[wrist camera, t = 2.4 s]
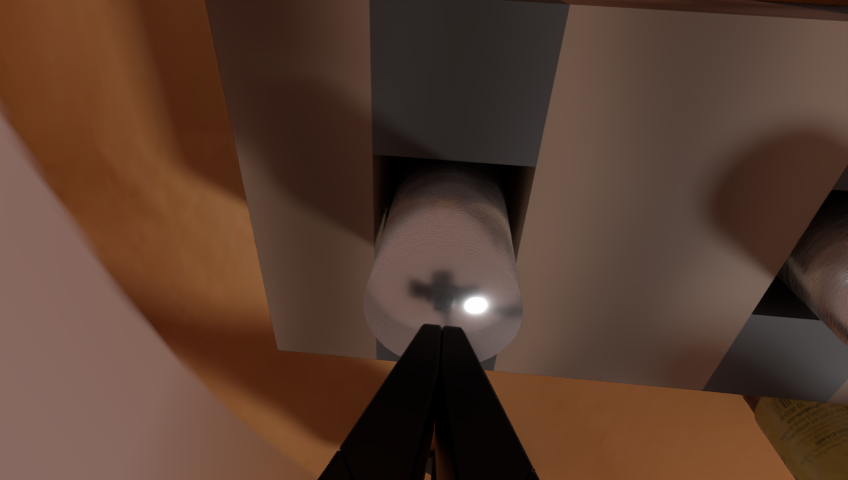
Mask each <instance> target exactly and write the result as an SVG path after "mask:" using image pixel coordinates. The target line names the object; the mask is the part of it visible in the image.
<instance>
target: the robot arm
mask: <svg viewBox="0 0 848 480" xmlns="http://www.w3.org/2000/svg"><path fill="white" fill-rule="evenodd" d="M434 421H435V451H433V452H430V448H431V443H432V437H433V431H434ZM426 472H427V473H428V474H430V475H431V480H539V478H538V476H537V474H536V472H535V469H534V468H533V466H532V464H531V462H530V460H529V458H528V456H527V454H526V452H525V450H524V448H523V446H522V444H521V442H520V440H519V438H518V436H517V435H516V433H515V431H514V429H513V427H512V425H511V423H510V421H509V419H508V417H507V415H506V413H505V411H504V409H503V407H502V405H501V403H500V401H499V399H498V397H497V395H496V393H495V391H494V389H493V387H492V385H491V383H490V381H489V379H488V377H487V375H486V373H485V371H484V369H483V367H482V365H481V363H480V361H479V359H478V357H477V355H476V353H475V351H474V349H473V347H472V346H471V344H470V342H469V340H468V338H467V336H466V334H465V332H464V330H463V328H461V327H458V326H447V325H446V326H444V327H443V328H442V326H441V325H436V324H423V325H422V326H421V327H420V329H419V330H418V332H417V333H416V335H415V336H414V338H413V339H412V341H411V342H410V344H409V345H408V347H407V348H406V350H405V351H404V353H403V354H402V355H401V357H400V358H399V360H398V361H397V363H396V364H395V366H394V367H393V369H392V370H391V372H390V373H389V375H388V376H387V378H386V379H385V381H384V382H383V384H382V385H381V387H380V388H379V390H378V391H377V393H376V394H375V396H374V397H373V399H372V400H371V402H370V403H369V405H368V406H367V408H366V409H365V411H364V412H363V414H362V415H361V417H360V418H359V420H358V421H357V422H356V424H355V425H354V427H353V428H352V430H351V431H350V433H349V434H348V436H347V437H346V439H345V440H344V442H343V443H342V445H341V446H340V451H337V452H336V453H335V455H334V456H333V458H332V459H331V461H330V462H329V464H328V465H327V467H326V468H325V470H324V471H323V472H322V474H321V475H320V477H319V478H318V479H317V480H424V478H425V473H426Z"/></svg>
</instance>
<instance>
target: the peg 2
mask: <svg viewBox="0 0 848 480" xmlns="http://www.w3.org/2000/svg"><path fill="white" fill-rule="evenodd" d="M777 276H778V277H779V278H780V279H781V280H782V281H783V282H784V283H785V284H786V285H787V286H788V287H789V288H790V289H791V290H792V291H793V292H794V293H795V294H796V296H797V297H798V298H799V299H800V300H801V301H802V302H803V303H804V304H805V305H806V306H807V307H808V308H809V309H810V310H811V311H812V312H813V313H814V314H815V315H816V316H817V317H818V318H819V319H820V320H821V321H822V322H823V323H824V324H825V325H826V326H827V327H828V328H829V329H830V330H831V331H832V332H833V333H834V334H835V335H836V336H837V337H838V338H839V339H840V340H841V341H842V342H843V343H844V344H845V345H846V346H847V347H848V191H843V190H831V191H830V193H829V194H828V196H827V197H826V199H825V200H824V202H823V204H822V205H821V207H820V208H819V210H818V211H817V213H816V214H815V216H814V217H813V219H812V221H811V222H810V224H809V225H808V227H807V228H806V230H805V231H804V233H803V235H802V236H801V238H800V239H799V241H798V242H797V244H796V245H795V247H794V249H793V250H792V252H791V253H790V255H789V256H788V258H787V259H786V261H785V262H784V264H783V266H782V267H781V269H780V270H779V272H778V273H777Z"/></svg>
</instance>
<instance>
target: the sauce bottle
mask: <svg viewBox="0 0 848 480" xmlns="http://www.w3.org/2000/svg"><path fill="white" fill-rule="evenodd" d="M743 397H744V399H745V401H746V402H747V403H748V405H749V406H750V408H751V410H752V411H753V412H754V414H755V419H756V422H757V424H758V425H759V427H760V428H761V430H762V431H763V433H764V434H765V436H766V437H767V439H768V440H769V441H770V443H771V444H772V446H773V447H774V449H775V450H776V452H777V453H778V455H779V456H780V458H781V459H782V461H783V462H784V464H785V465H786V466H787V468H788V469H789V471H790V472H791V474H792V475H793V476H794V478H795V479H796V480H848V405H845V404H835V403H824V402H814V401H803V400H793V399H782V398H772V397H762V396H751V395H743Z"/></svg>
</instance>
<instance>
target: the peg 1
mask: <svg viewBox="0 0 848 480" xmlns="http://www.w3.org/2000/svg"><path fill="white" fill-rule="evenodd" d="M363 309H364V315H365V319H366V322H367V324H368V326H369V328H370V330H371V331H372V333H373V334H374V336H375V337H376V338H377V339H378V340H379V342H380V343H382V344H383V345H384V346H385V347H386V348H387V349H389V350H390V351H392V352H393V353H395V354H397V355H398V356H400V357H401V355H402V354H403V353H404V351H405V350H406V348H407V347H408V345H409V344H410V342H411V341H412V339H413V338H414V336H415V335H416V333H417V332H418V330H419V329H420V327H421V326H422V325H423V324H436V325H441V326H442V328H443V327H444V326H446V325H447V326H458V327H461V328H463V330H464V332H465V334H466V336H467V338H468V340H469V342H470V344H471V346H472V347H473V349H474V351H475V353H476V355H477V357H478V359H479V361H480V362H482V361H484V360H486V359H489V358H491V357H493V356H494V355H496V354H498V353H499V352H500V351H502V350H503V349H504V348H505V347H506V346H507V345H508V344H510V343H511V341H512V340H513V339H514V337H515V336H516V334H517V332H518V330H519V328H520V325H521V322H522V317H523V304H522V298H521V292H520V286H519V280H518V274H517V268H516V262H515V256H514V250H513V244H512V238H511V232H510V226H509V220H508V214H507V209H506V203H505V197H504V191H503V185H502V179H501V173H500V168H499V164H491V163H478V162H465V161H452V160H439V159H426V158H413V157H406V159H405V162H404V164H403V167H402V171H401V174H400V177H399V181H398V184H397V187H396V191H395V194H394V197H393V201H392V204H391V207H390V211H389V214H388V217H387V221H386V224H385V227H384V231H383V234H382V237H381V241H380V244H379V248H378V251H377V254H376V258H375V261H374V264H373V268H372V271H371V274H370V278H369V281H368V284H367V288H366V291H365V295H364V301H363Z"/></svg>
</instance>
